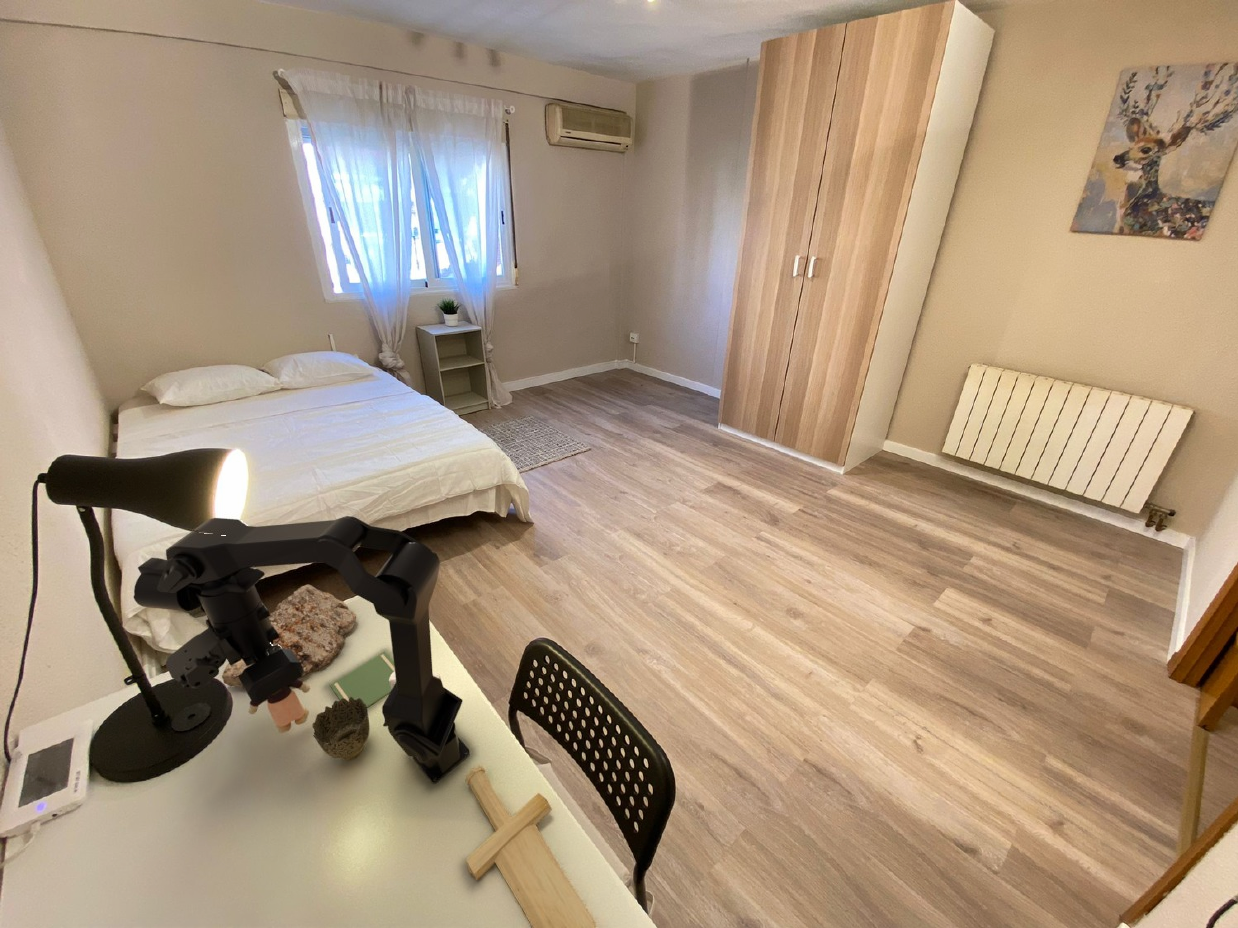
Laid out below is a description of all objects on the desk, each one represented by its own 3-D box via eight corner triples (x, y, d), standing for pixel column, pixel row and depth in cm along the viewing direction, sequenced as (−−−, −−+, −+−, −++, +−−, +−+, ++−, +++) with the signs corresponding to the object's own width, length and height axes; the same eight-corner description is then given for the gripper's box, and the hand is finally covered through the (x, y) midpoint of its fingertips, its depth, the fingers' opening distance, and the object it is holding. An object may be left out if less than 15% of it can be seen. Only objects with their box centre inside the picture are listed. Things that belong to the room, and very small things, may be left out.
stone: (214, 683, 89) (279, 722, 86) (202, 654, 84) (270, 694, 81) (321, 598, 107) (378, 628, 104) (316, 570, 103) (375, 600, 99)
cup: (326, 738, 81) (313, 706, 77) (376, 721, 84) (366, 689, 80) (324, 782, 75) (310, 750, 71) (378, 762, 78) (367, 730, 74)
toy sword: (438, 809, 73) (558, 1046, 53) (432, 800, 71) (555, 1041, 52) (511, 750, 79) (642, 943, 60) (507, 740, 77) (642, 935, 58)
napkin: (408, 679, 91) (408, 678, 91) (352, 717, 84) (352, 716, 84) (384, 652, 96) (384, 650, 96) (330, 685, 89) (329, 684, 89)
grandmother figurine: (310, 700, 83) (291, 643, 77) (320, 714, 80) (300, 657, 75) (256, 731, 77) (231, 673, 72) (265, 747, 75) (239, 689, 69)
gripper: (140, 606, 67) (187, 684, 74) (179, 687, 56) (228, 769, 64) (238, 565, 74) (271, 640, 82) (287, 630, 64) (320, 708, 71)
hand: (271, 685), depth 74 cm, fingers closed on grandmother figurine, 3 cm apart
